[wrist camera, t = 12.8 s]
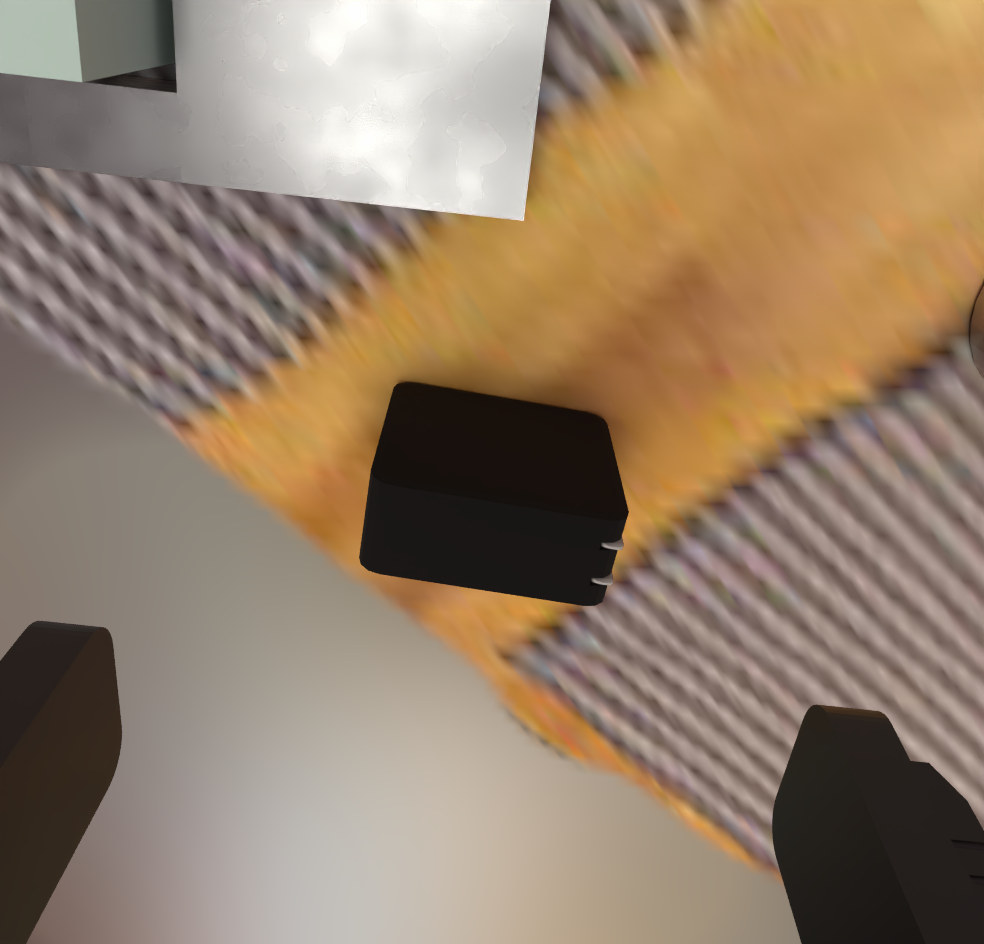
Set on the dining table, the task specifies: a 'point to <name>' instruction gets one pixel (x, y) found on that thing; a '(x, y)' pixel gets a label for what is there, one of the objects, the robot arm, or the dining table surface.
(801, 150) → the dining table surface
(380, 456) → the electronic device
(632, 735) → the dining table surface
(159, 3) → the sage green square post
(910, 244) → the dining table surface
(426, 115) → the grey peg hole base
